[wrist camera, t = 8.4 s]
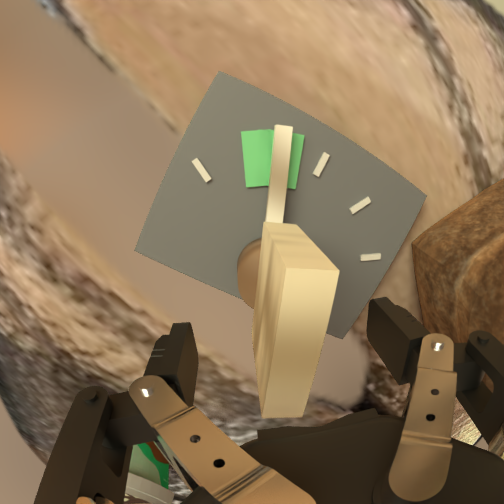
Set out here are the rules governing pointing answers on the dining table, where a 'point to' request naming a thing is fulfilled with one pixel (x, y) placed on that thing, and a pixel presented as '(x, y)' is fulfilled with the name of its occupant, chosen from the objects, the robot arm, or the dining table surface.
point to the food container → (148, 476)
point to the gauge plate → (296, 202)
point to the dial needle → (285, 297)
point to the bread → (464, 270)
